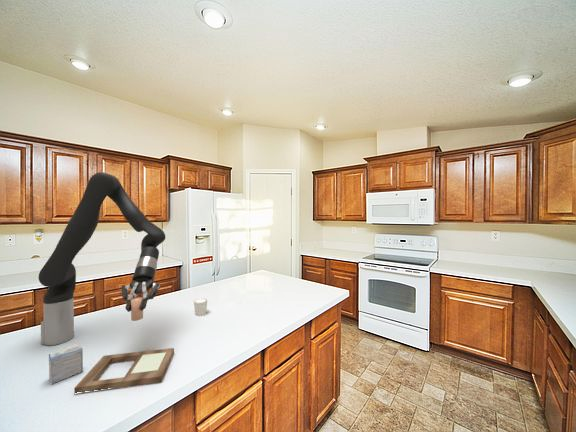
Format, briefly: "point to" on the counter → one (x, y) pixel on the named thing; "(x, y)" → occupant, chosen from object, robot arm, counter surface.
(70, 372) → the medicine box
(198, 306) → the white candle
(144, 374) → the hole board
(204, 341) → the counter surface
